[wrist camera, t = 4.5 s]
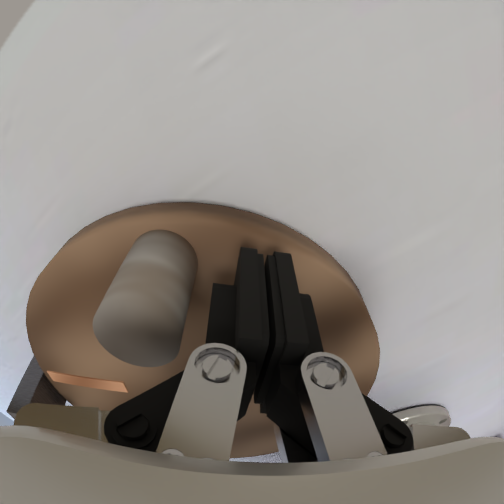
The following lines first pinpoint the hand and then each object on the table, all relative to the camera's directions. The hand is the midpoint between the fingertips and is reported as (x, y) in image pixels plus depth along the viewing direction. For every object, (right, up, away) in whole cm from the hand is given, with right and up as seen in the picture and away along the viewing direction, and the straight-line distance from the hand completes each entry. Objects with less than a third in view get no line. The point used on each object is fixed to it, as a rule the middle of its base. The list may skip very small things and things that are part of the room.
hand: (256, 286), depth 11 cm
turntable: (-3, -5, +8) cm, 10 cm away
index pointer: (-15, -7, +9) cm, 18 cm away
